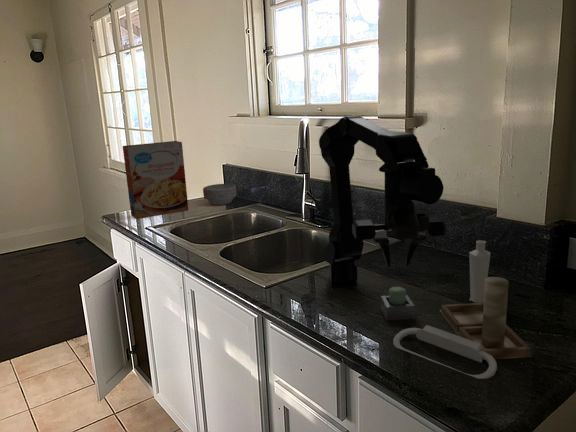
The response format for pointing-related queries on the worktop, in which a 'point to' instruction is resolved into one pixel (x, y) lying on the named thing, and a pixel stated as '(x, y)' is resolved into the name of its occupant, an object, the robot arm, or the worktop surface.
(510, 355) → the divided wooden tray
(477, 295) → the perfume bottle
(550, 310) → the worktop surface
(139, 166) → the pasta box
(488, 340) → the wooden billet
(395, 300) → the button
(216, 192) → the paper bowls
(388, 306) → the button housing
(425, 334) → the oval loop handle
